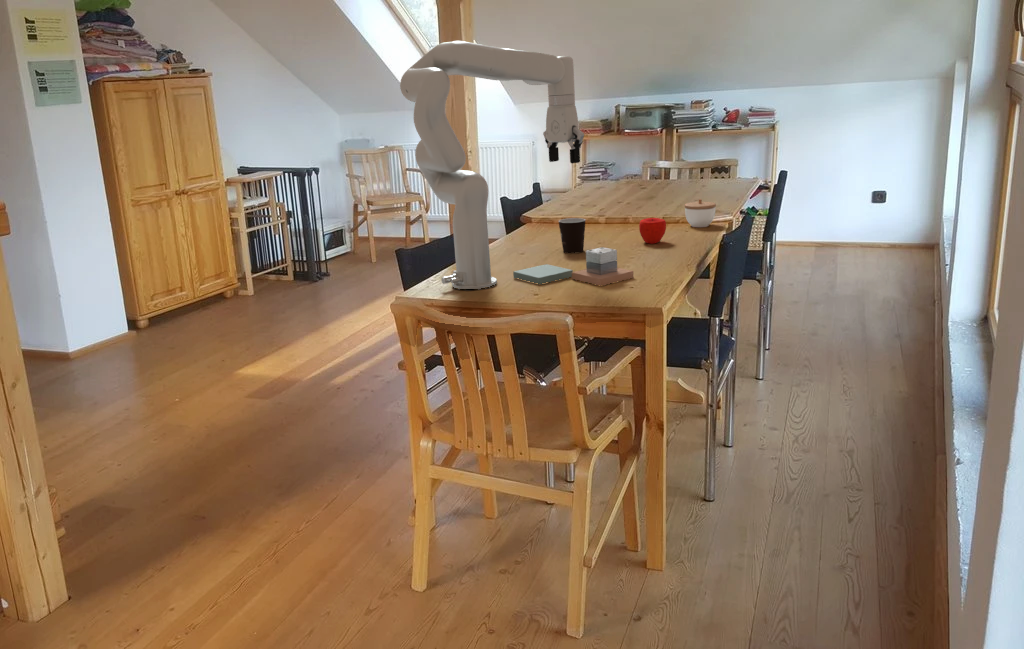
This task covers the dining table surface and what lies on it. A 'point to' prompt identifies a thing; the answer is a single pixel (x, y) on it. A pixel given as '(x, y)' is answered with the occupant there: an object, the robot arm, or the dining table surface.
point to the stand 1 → (543, 273)
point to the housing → (601, 261)
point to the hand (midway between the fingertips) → (564, 162)
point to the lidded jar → (700, 213)
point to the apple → (652, 229)
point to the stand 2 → (602, 276)
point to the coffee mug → (572, 234)
